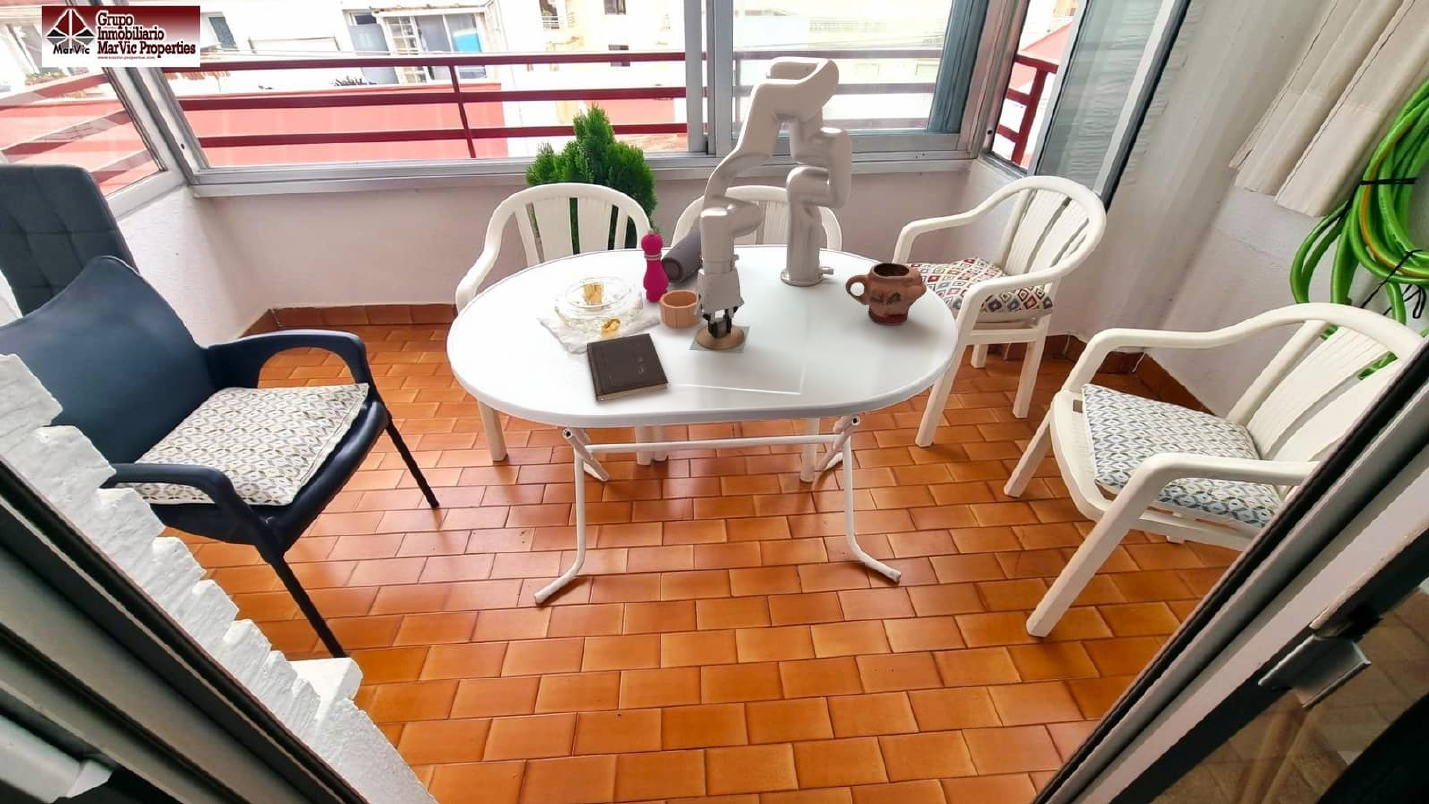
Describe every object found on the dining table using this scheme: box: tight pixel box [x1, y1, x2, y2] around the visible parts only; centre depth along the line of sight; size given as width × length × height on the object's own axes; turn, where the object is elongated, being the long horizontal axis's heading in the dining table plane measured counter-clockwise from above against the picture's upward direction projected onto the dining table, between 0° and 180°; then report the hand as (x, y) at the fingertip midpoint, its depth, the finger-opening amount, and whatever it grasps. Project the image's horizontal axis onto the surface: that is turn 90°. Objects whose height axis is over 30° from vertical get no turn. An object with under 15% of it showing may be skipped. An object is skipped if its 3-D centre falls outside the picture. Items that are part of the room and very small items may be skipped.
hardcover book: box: [586, 332, 669, 402], centre depth 135 cm, size 16×23×2 cm
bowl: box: [659, 289, 702, 329], centre depth 152 cm, size 10×11×6 cm
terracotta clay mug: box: [844, 262, 928, 326], centre depth 147 cm, size 20×12×14 cm, turn 89°
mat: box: [689, 323, 750, 354], centre depth 145 cm, size 13×13×1 cm
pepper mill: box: [640, 228, 670, 303], centre depth 159 cm, size 7×7×20 cm
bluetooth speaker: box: [661, 229, 702, 284], centre depth 175 cm, size 23×9×10 cm, turn 159°
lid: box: [695, 317, 744, 350], centre depth 143 cm, size 12×12×5 cm
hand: (720, 332), depth 144 cm, fingers closed on lid, 3 cm apart
